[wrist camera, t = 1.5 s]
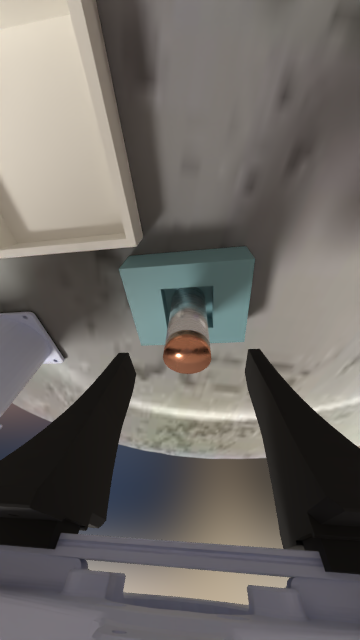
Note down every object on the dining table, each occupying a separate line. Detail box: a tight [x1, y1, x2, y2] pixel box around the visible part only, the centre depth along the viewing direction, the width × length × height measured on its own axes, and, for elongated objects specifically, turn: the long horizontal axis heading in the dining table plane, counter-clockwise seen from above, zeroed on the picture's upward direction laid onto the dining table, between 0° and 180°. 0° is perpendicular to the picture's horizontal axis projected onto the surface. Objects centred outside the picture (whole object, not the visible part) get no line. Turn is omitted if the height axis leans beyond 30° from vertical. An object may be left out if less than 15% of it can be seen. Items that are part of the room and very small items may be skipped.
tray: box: [0, 0, 143, 259], centre depth 12 cm, size 11×11×2 cm
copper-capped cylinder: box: [163, 287, 211, 374], centre depth 15 cm, size 3×3×7 cm
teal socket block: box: [119, 246, 255, 346], centre depth 18 cm, size 10×8×3 cm
